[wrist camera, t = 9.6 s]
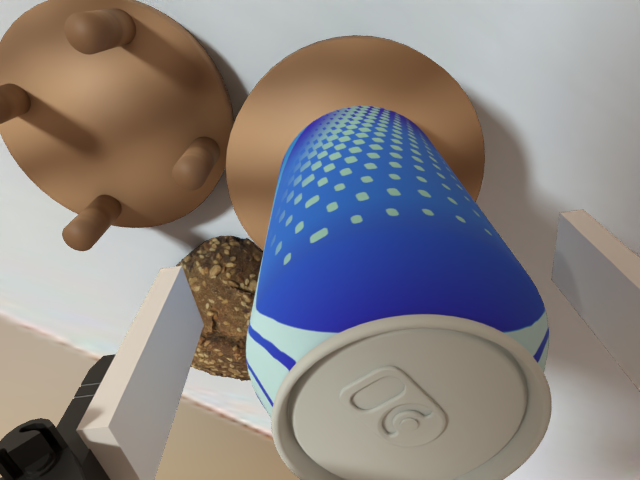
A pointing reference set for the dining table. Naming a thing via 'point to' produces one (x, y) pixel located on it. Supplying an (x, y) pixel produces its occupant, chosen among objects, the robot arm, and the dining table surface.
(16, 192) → the dining table surface
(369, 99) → the footstool
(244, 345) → the bread roll
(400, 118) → the beer can
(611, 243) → the robot arm
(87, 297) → the dining table surface
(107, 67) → the upturned footstool
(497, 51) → the dining table surface
